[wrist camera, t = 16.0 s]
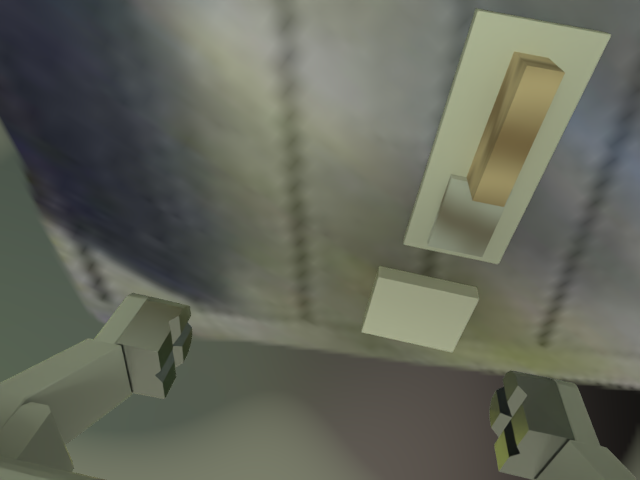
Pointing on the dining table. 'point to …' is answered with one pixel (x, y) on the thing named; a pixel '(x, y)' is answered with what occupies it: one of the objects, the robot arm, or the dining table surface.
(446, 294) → the tile
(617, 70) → the dining table surface
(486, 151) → the wooden handled scraper
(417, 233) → the tool rest
